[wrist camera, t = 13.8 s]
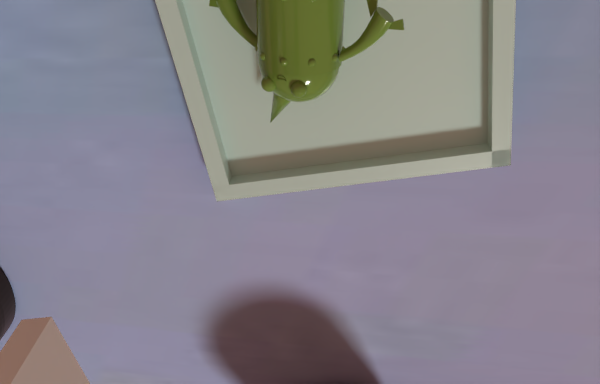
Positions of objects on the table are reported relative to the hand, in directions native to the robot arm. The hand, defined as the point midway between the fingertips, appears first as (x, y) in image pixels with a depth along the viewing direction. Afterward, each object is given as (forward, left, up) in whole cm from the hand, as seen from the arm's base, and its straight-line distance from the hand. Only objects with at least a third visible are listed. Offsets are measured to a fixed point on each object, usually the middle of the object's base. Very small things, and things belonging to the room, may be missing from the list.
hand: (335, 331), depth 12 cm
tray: (0, 0, -25) cm, 25 cm away
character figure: (-2, +1, -24) cm, 24 cm away
